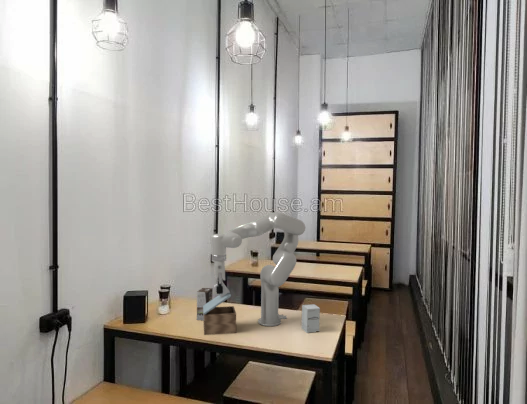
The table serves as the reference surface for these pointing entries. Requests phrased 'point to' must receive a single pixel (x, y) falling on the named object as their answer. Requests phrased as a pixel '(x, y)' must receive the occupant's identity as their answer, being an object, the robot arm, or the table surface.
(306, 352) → the table surface
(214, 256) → the robot arm
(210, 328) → the walnut box
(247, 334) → the table surface
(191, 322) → the table surface
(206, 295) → the coffee box
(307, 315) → the supplement box
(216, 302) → the lid
